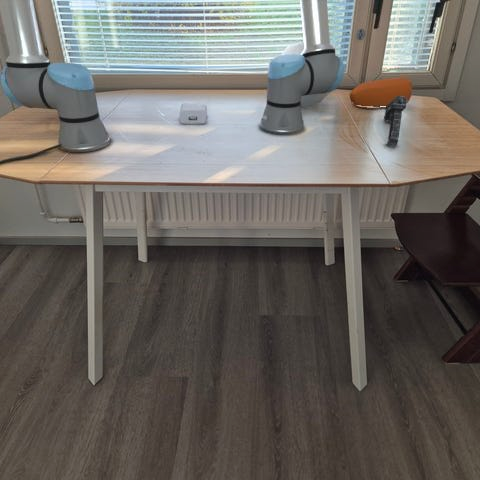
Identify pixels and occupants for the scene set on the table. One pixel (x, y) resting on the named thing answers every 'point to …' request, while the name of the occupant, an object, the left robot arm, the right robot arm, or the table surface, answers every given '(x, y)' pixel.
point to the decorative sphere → (306, 99)
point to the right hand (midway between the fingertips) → (402, 30)
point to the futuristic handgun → (395, 118)
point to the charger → (193, 113)
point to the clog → (381, 92)
